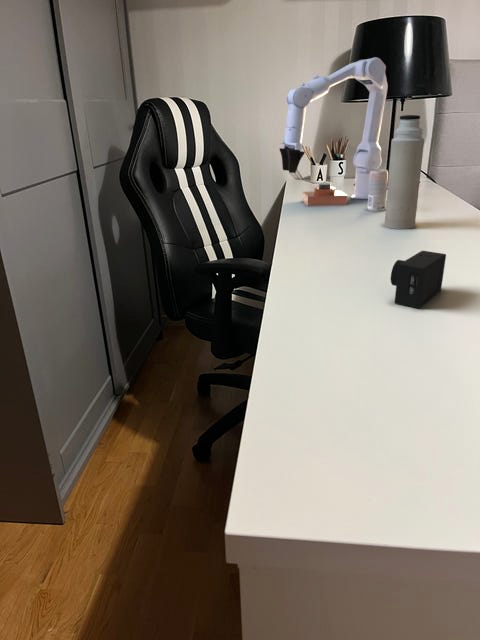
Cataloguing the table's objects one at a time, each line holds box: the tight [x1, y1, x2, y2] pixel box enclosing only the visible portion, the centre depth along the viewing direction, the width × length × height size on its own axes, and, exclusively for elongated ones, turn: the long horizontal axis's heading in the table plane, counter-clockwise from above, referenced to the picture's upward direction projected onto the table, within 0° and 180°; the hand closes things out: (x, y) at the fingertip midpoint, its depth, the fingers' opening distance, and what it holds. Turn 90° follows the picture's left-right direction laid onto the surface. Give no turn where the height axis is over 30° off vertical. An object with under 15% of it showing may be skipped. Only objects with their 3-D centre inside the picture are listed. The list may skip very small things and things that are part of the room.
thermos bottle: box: [383, 114, 425, 230], centre depth 131 cm, size 8×8×28 cm
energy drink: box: [366, 168, 389, 212], centre depth 155 cm, size 5×5×12 cm
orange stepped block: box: [302, 186, 348, 207], centre depth 169 cm, size 13×10×5 cm
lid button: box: [318, 182, 332, 189], centre depth 168 cm, size 4×4×2 cm
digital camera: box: [390, 250, 447, 310], centre depth 86 cm, size 10×5×7 cm, turn 141°
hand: (289, 171), depth 167 cm, fingers open, 7 cm apart
